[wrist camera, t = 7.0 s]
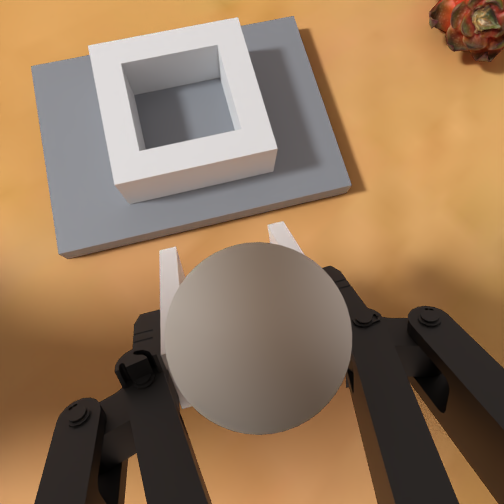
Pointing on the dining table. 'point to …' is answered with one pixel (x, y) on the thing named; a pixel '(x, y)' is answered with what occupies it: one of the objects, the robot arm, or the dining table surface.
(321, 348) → the cream round-topped cylinder
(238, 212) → the socket board
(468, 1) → the dragon fruit
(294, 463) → the dining table surface
